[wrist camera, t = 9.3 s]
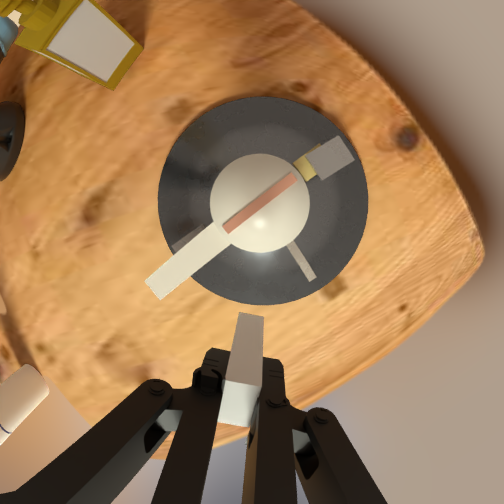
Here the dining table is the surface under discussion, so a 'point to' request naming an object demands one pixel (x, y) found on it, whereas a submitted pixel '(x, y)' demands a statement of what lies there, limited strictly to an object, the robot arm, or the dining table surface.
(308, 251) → the post base
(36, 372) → the container
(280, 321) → the dining table surface
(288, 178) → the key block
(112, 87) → the soap bottle
